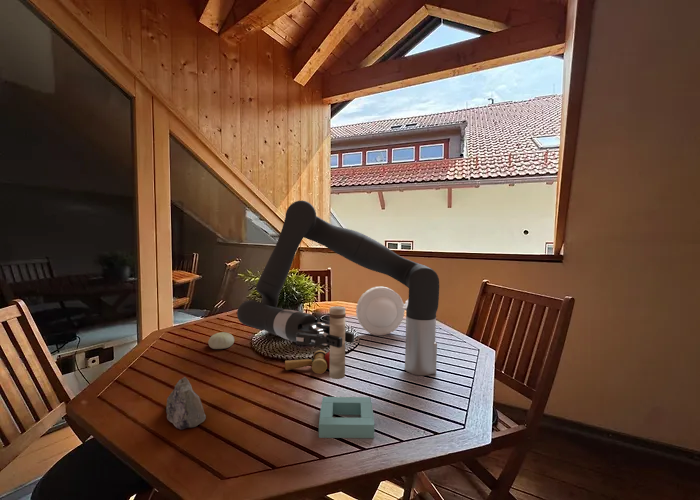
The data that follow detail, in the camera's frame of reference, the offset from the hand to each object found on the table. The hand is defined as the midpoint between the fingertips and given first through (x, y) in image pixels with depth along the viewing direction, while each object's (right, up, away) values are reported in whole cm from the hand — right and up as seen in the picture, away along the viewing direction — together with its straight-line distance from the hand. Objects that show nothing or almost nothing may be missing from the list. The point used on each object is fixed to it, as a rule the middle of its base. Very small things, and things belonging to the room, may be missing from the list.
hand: (347, 340), depth 81 cm
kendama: (-11, -18, +32) cm, 38 cm away
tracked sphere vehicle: (+21, -15, +69) cm, 74 cm away
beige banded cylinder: (-2, -9, +2) cm, 9 cm away
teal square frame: (0, -20, +2) cm, 20 cm away
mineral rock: (-38, -19, +5) cm, 43 cm away
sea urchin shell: (-47, -16, +52) cm, 72 cm away
